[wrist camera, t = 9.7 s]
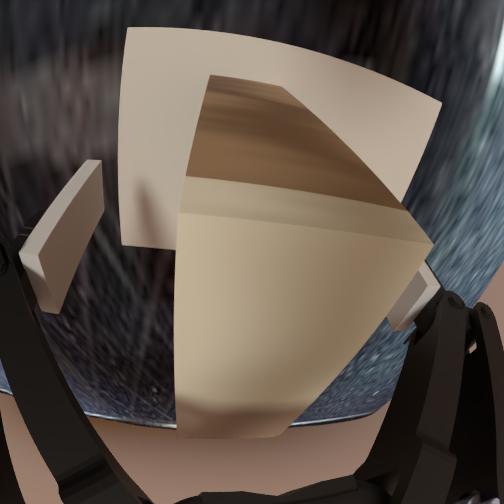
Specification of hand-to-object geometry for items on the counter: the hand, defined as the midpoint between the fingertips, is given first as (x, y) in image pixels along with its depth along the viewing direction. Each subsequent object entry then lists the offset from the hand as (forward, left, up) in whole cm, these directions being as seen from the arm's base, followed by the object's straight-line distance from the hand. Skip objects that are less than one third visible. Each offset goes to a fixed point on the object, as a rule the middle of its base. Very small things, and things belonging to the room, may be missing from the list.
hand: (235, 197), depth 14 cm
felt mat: (+3, 0, -5) cm, 6 cm away
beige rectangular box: (0, 0, -5) cm, 5 cm away
